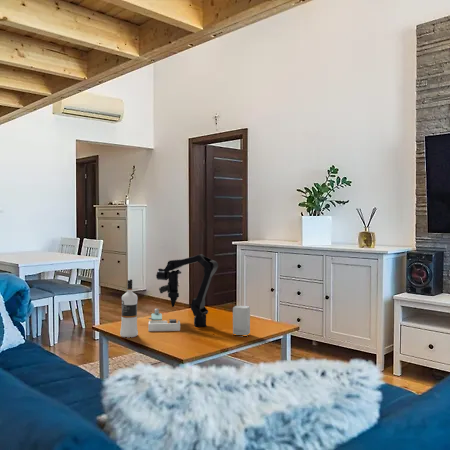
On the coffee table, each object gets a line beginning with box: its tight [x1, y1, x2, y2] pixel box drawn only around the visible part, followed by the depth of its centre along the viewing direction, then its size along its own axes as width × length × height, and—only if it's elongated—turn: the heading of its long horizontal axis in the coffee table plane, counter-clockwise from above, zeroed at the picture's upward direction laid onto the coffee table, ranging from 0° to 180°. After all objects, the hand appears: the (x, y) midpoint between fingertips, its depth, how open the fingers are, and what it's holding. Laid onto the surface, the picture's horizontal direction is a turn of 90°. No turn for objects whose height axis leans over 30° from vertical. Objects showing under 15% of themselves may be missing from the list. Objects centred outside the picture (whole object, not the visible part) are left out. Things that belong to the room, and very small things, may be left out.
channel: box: [147, 320, 181, 332], centre depth 263 cm, size 18×8×4 cm, turn 98°
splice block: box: [169, 318, 177, 323], centre depth 274 cm, size 4×4×3 cm
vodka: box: [119, 279, 139, 339], centre depth 248 cm, size 9×9×30 cm
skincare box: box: [232, 305, 251, 335], centre depth 254 cm, size 8×7×16 cm
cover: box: [148, 308, 163, 321], centre depth 272 cm, size 15×8×4 cm, turn 9°
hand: (172, 306), depth 281 cm, fingers closed
